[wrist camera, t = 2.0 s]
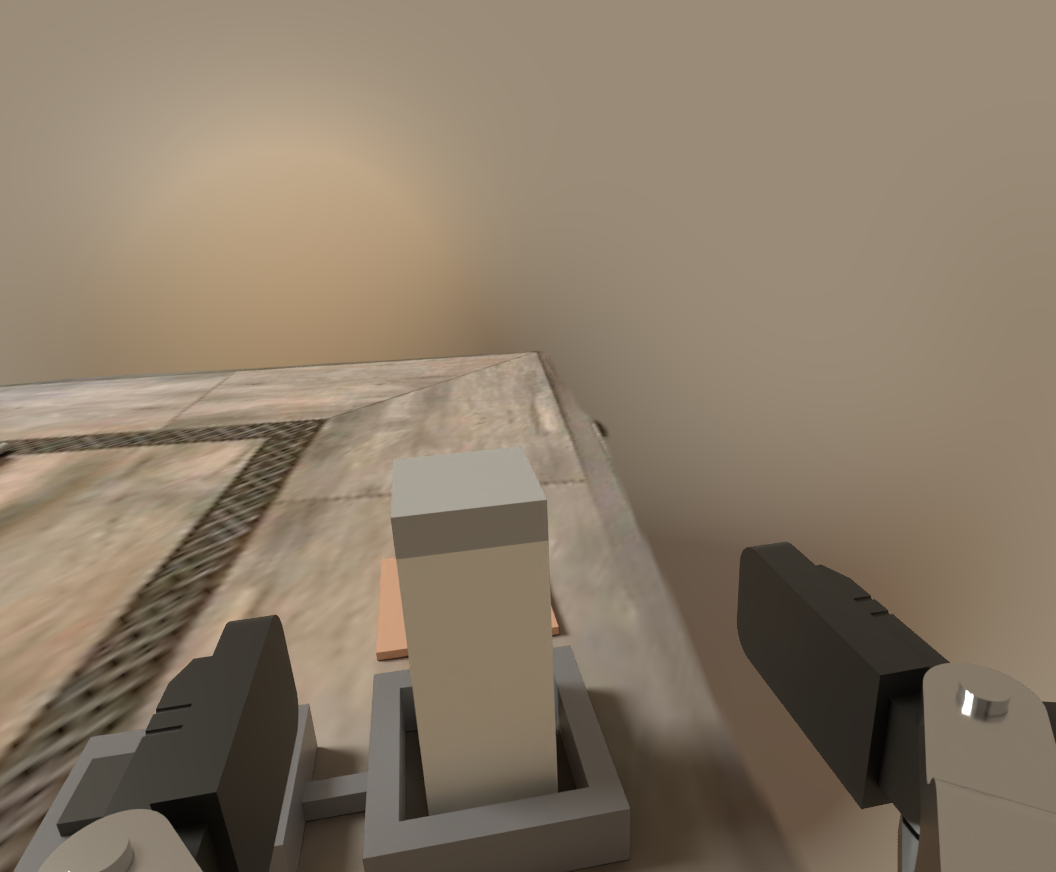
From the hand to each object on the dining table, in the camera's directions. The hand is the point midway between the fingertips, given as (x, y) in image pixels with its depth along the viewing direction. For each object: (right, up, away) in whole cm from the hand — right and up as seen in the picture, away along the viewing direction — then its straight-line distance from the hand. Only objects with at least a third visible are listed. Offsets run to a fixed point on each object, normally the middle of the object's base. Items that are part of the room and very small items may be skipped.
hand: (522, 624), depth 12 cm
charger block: (-2, -11, +17) cm, 20 cm away
